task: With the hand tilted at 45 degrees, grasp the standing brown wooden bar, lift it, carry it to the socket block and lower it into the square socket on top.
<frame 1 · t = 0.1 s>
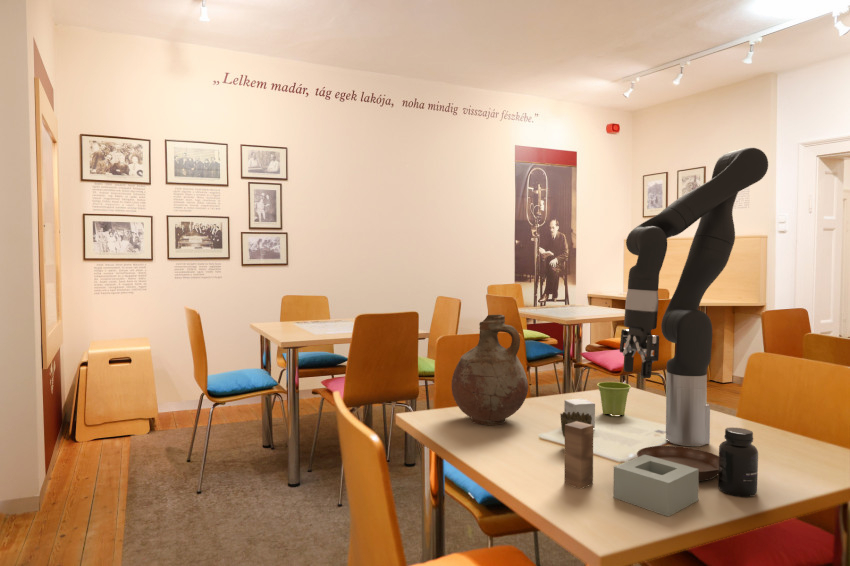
hand: (636, 374, 146), 17 cm above the table, tool pointing down, fingers open, 8 cm apart
brown wooden bar: (578, 483, 121), on the table
socket block: (655, 499, 113), on the table
cup: (575, 448, 144), on the table
plant saucer: (679, 471, 129), on the table
jug: (489, 421, 168), on the table
supplement bottle: (737, 492, 117), on the table
product box: (579, 428, 161), on the table
plant pot: (613, 414, 175), on the table
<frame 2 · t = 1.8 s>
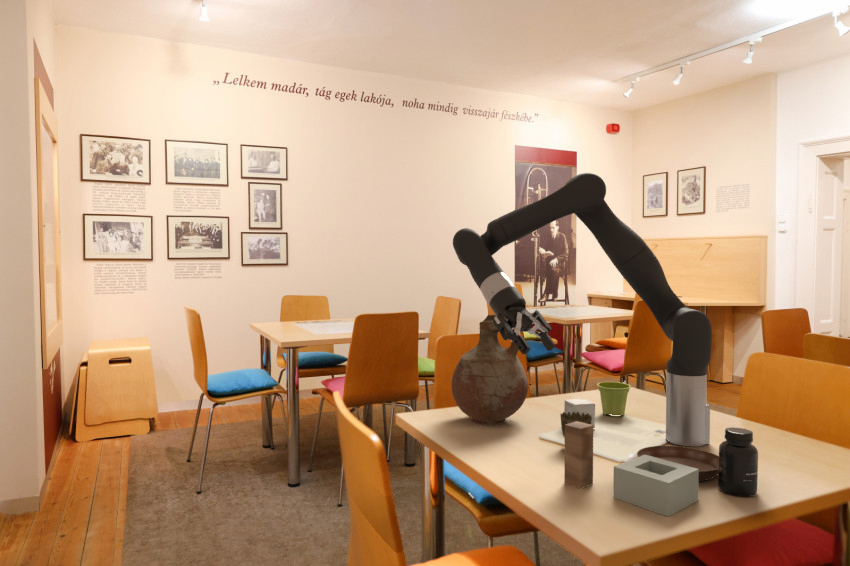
hand: (539, 350, 132), 25 cm above the table, tool tilted 45°, fingers open, 8 cm apart
nothing on the table moved.
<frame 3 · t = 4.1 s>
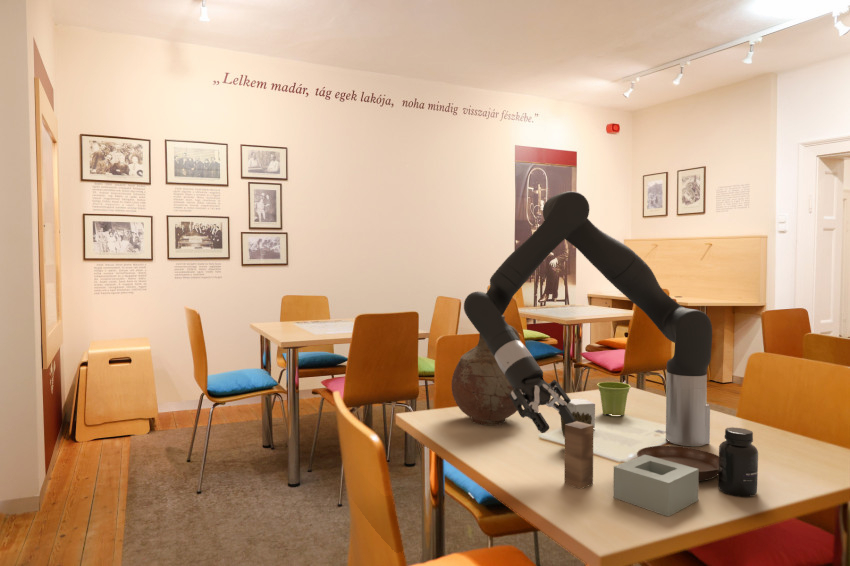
hand: (559, 427, 124), 10 cm above the table, tool tilted 45°, fingers open, 8 cm apart
nothing on the table moved.
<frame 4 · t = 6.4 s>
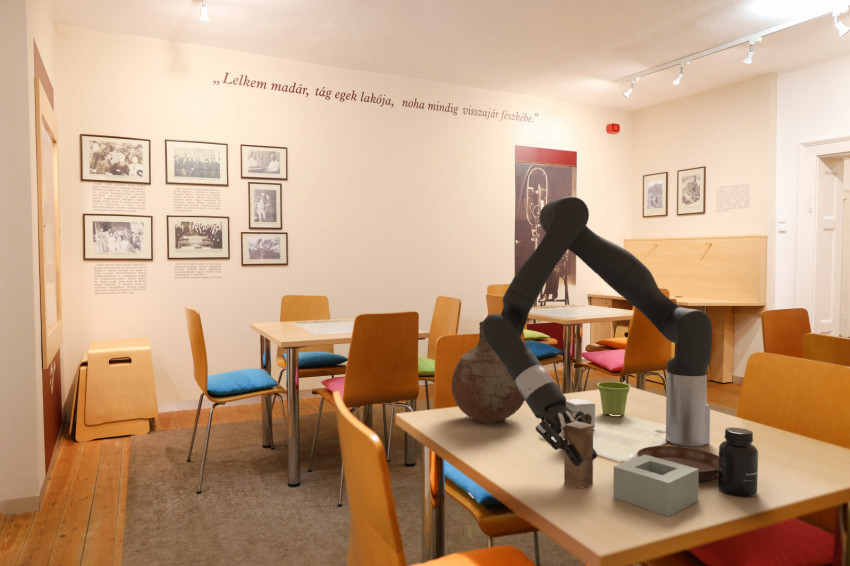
hand: (586, 461, 119), 5 cm above the table, tool tilted 45°, fingers closed on brown wooden bar, 4 cm apart
brown wooden bar: (578, 483, 121), on the table, touching gripper
everything else where it was.
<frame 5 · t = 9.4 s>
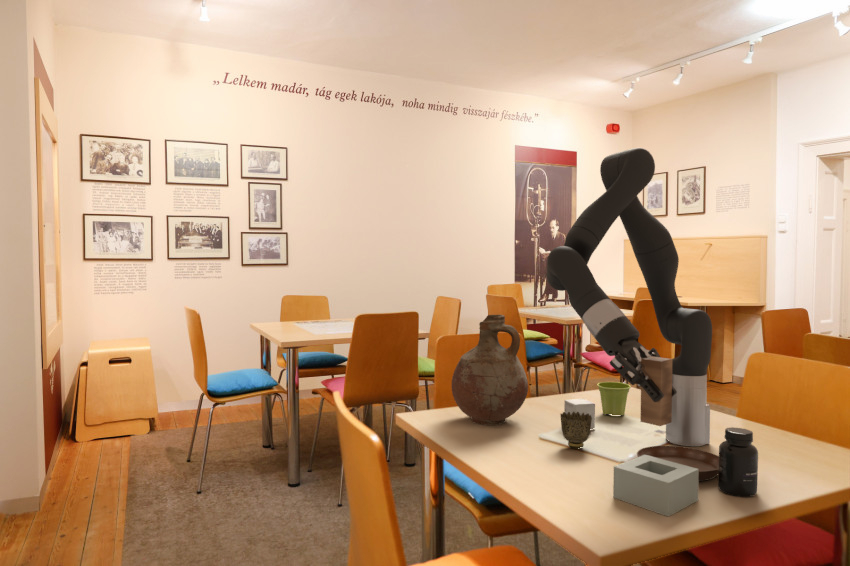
hand: (666, 397, 111), 20 cm above the table, tool tilted 45°, fingers closed on brown wooden bar, 4 cm apart
brown wooden bar: (655, 422, 112), point 15 cm above the table, touching gripper
everything else where it was.
when the fingers open (8 cm above the table, at t = 12.3 s): brown wooden bar drops 1 cm, resting on socket block.
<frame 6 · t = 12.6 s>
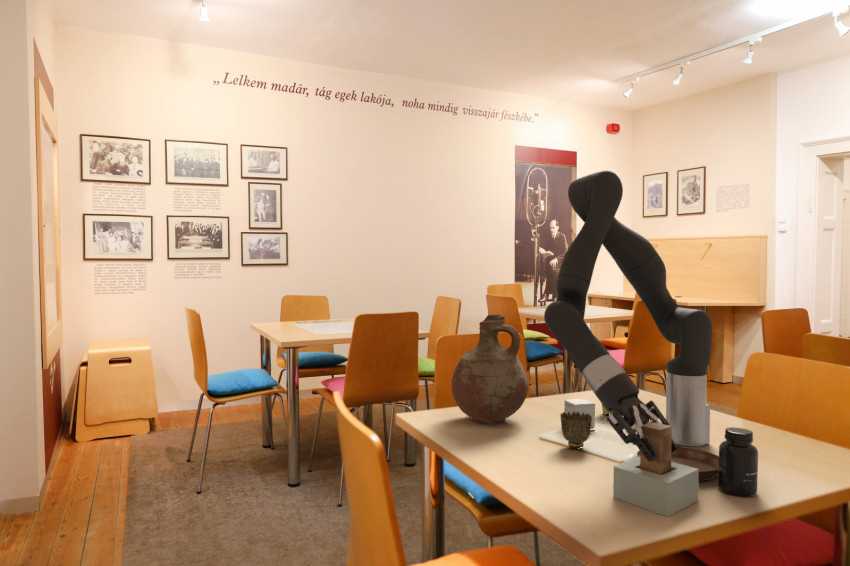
hand: (664, 454, 111), 9 cm above the table, tool tilted 45°, fingers open, 6 cm apart
brown wooden bar: (655, 488, 113), point 2 cm above the table, touching socket block
everything else where it was.
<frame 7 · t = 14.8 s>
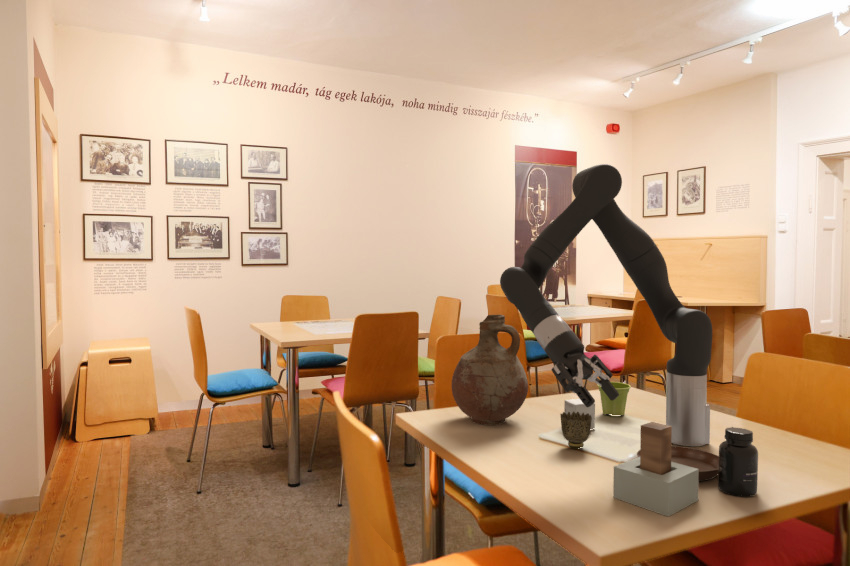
hand: (603, 401, 122), 16 cm above the table, tool tilted 45°, fingers open, 8 cm apart
nothing on the table moved.
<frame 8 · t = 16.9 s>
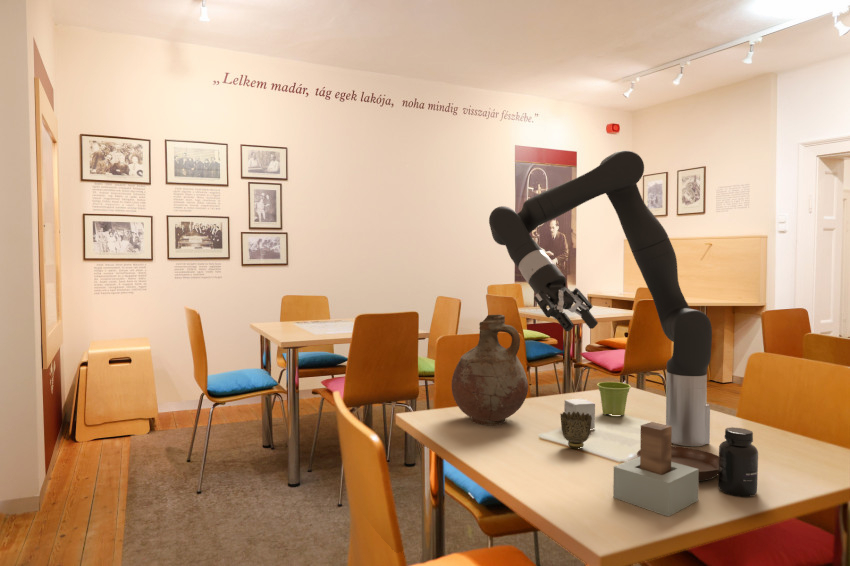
hand: (582, 327, 129), 31 cm above the table, tool tilted 45°, fingers open, 8 cm apart
nothing on the table moved.
at the end: brown wooden bar 0.0 cm off-centre on the socket block, point 2.0 cm above the socket block's base; brown wooden bar tilted 0°; the gripper is holding nothing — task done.
